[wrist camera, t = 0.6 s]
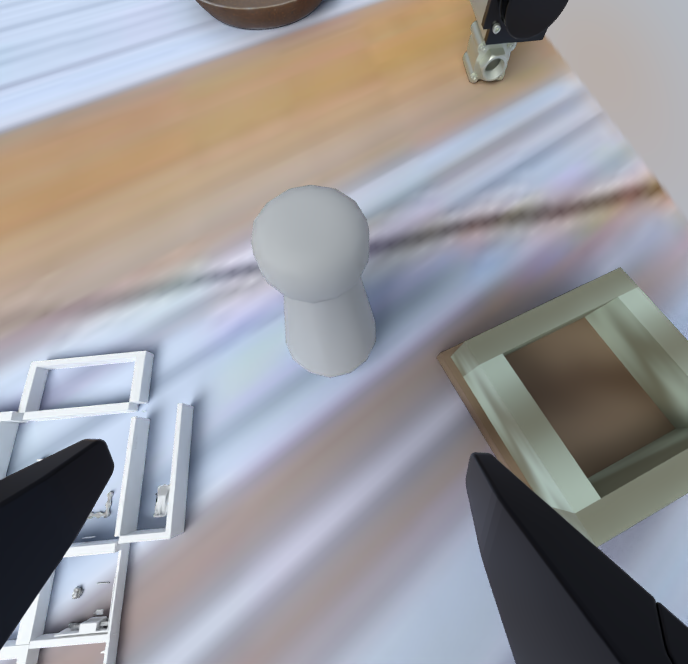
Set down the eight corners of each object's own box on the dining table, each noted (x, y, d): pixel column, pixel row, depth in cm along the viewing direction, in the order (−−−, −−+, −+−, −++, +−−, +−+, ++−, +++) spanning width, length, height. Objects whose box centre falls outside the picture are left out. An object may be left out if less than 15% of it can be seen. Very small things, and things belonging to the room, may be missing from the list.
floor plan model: (206, 280, 26) (194, 266, 24) (175, 696, 17) (153, 726, 15) (-25, 302, 26) (-54, 291, 24) (-176, 727, 17) (-241, 760, 15)
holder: (711, 446, 20) (794, 444, 16) (547, 541, 18) (595, 564, 15) (579, 288, 24) (621, 257, 20) (436, 357, 22) (452, 337, 19)
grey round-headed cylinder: (299, 392, 22) (226, 315, 10) (286, 316, 24) (212, 174, 12) (383, 373, 22) (415, 275, 10) (364, 299, 24) (370, 143, 12)
